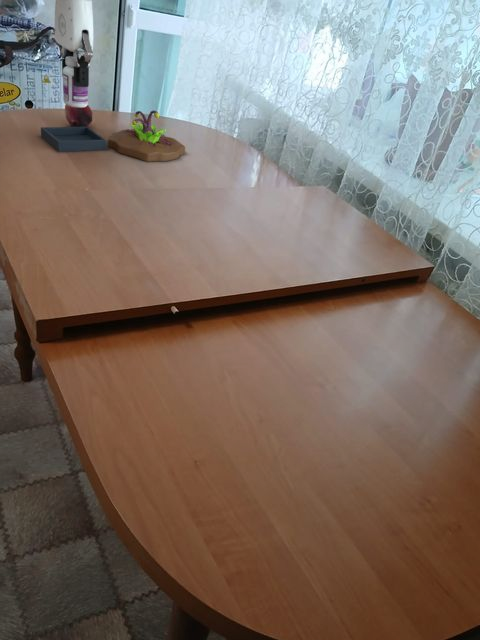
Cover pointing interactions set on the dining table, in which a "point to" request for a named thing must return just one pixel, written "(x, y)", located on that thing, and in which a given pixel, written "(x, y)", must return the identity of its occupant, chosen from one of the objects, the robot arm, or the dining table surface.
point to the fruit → (78, 116)
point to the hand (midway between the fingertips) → (75, 81)
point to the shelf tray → (73, 138)
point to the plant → (146, 141)
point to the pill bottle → (70, 92)
